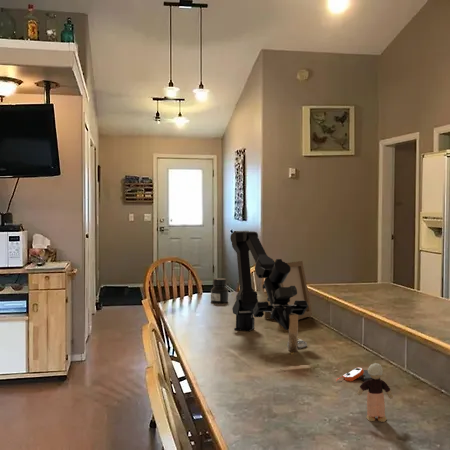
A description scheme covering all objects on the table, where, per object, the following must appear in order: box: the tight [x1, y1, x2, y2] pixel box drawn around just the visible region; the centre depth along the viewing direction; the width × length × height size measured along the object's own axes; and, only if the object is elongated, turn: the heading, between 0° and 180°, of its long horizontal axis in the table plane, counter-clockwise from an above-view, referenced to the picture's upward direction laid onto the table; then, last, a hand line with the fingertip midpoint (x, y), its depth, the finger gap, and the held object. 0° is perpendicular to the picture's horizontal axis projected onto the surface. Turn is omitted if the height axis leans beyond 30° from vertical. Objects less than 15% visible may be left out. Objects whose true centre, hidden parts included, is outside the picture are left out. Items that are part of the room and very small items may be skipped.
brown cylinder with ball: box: [286, 314, 308, 353], centre depth 178 cm, size 6×11×12 cm, turn 162°
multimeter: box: [335, 367, 381, 383], centre depth 147 cm, size 18×12×3 cm, turn 92°
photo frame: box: [264, 260, 313, 321], centre depth 230 cm, size 15×22×25 cm
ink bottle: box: [210, 277, 229, 304], centre depth 272 cm, size 10×9×12 cm
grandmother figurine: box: [356, 362, 394, 423], centre depth 119 cm, size 8×4×13 cm, turn 92°
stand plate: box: [290, 336, 304, 355], centre depth 181 cm, size 20×15×2 cm
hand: (287, 329), depth 175 cm, fingers closed
